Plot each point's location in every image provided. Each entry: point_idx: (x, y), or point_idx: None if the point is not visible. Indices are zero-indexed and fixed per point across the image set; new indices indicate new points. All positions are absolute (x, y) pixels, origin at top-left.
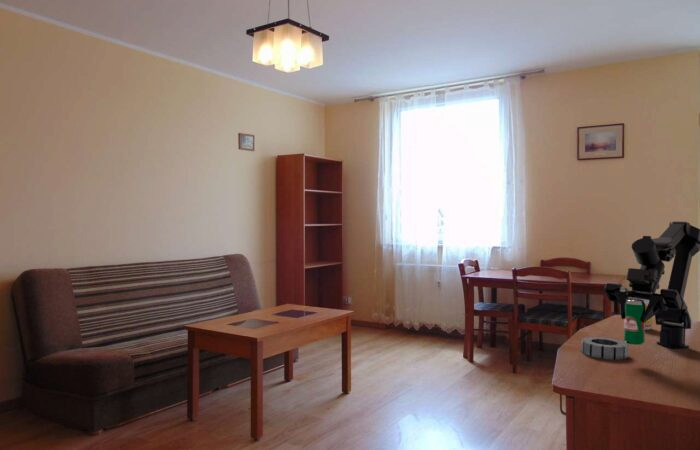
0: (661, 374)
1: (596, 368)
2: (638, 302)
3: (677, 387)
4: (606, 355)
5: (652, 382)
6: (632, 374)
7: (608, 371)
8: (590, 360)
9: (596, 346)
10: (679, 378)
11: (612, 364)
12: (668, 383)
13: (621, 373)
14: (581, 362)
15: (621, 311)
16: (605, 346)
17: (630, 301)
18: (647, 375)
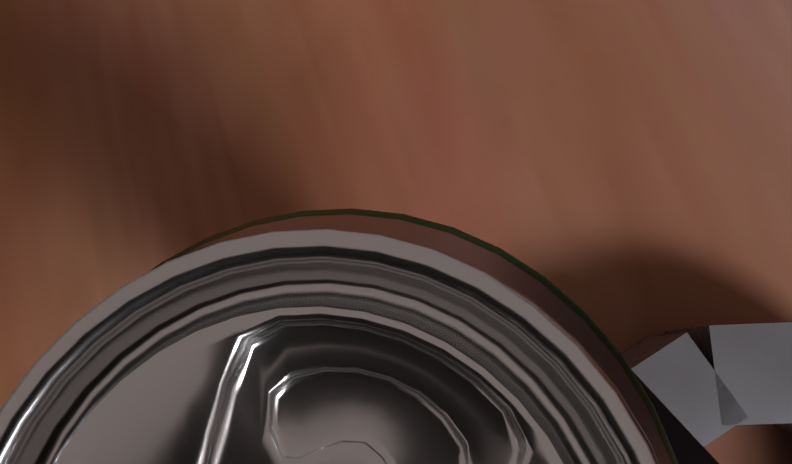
0: (161, 253)
1: (553, 25)
2: (112, 335)
3: (18, 29)
4: (635, 350)
5: (160, 9)
6: (312, 84)
7: (460, 21)
8: (696, 205)
9: (757, 323)
10: (43, 251)
11: (520, 232)
12: (77, 69)
13: (376, 47)
14: (711, 89)
15: (667, 424)
16: (681, 361)
17: (390, 252)
18: (229, 144)
